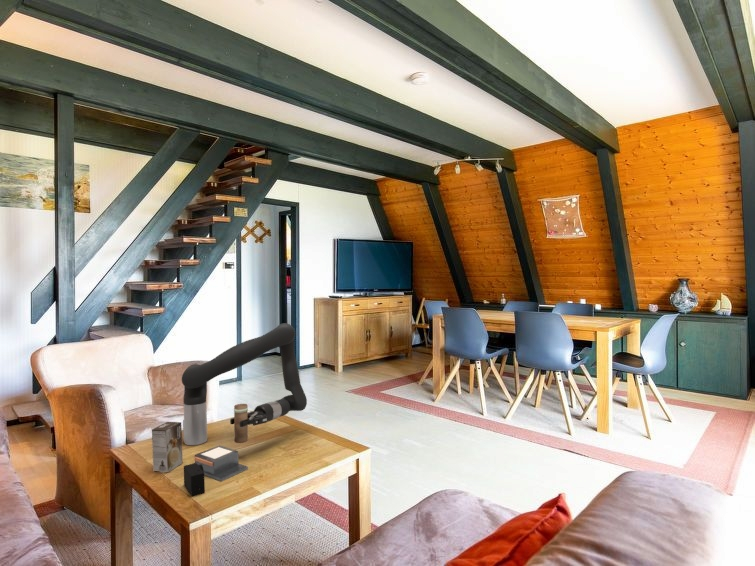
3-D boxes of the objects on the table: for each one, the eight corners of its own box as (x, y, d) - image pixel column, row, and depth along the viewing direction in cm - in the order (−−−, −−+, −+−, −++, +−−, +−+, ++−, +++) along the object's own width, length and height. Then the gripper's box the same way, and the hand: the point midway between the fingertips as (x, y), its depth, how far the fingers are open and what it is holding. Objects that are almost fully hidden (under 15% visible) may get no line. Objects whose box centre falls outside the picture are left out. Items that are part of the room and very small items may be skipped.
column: (231, 441, 184) (231, 406, 183) (241, 437, 188) (241, 402, 188) (240, 444, 181) (240, 408, 180) (250, 439, 185) (250, 405, 185)
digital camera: (208, 492, 156) (208, 471, 156) (191, 497, 153) (191, 476, 153) (200, 481, 165) (199, 461, 165) (184, 485, 162) (183, 465, 162)
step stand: (186, 468, 175) (186, 452, 175) (213, 457, 185) (213, 442, 185) (221, 481, 164) (220, 464, 164) (247, 469, 174) (247, 452, 174)
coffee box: (168, 461, 182) (167, 421, 181) (183, 463, 180) (182, 421, 180) (152, 472, 173) (151, 429, 172) (167, 473, 171) (166, 430, 171)
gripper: (256, 400, 200) (223, 410, 186) (280, 406, 192) (248, 416, 178) (256, 417, 200) (223, 429, 186) (280, 424, 192) (248, 436, 178)
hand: (235, 423), depth 182 cm, fingers closed on column, 5 cm apart
